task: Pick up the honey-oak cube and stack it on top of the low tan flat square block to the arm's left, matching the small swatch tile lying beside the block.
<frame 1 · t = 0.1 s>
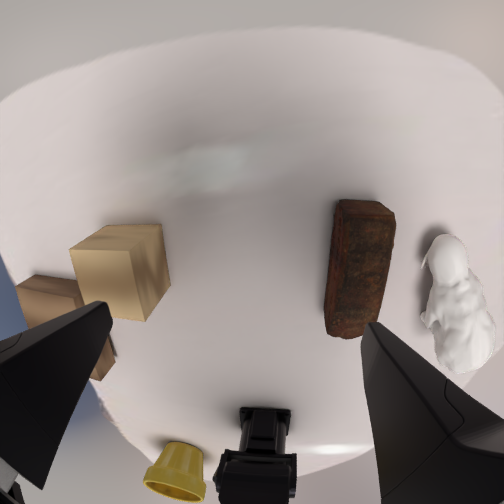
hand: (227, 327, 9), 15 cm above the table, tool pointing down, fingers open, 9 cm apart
brick: (349, 258, 23), on the table
white lumpy chunk: (439, 279, 23), on the table
oak cube: (137, 254, 25), on the table
plant pot: (186, 448, 41), on the table
tan flat square block: (72, 318, 30), on the table, tilted 5°, touching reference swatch
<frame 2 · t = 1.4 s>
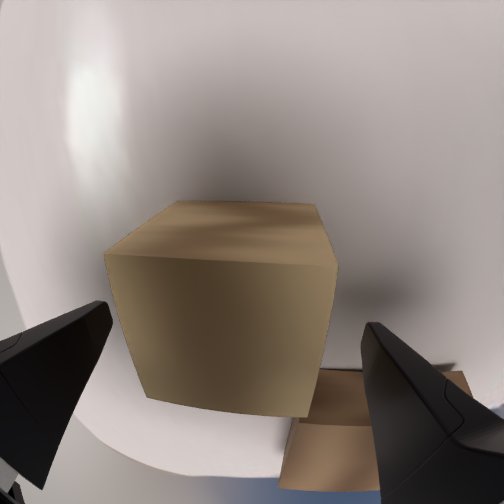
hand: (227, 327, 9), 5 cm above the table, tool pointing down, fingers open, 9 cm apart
oak cube: (244, 264, 13), on the table
tan flat square block: (366, 421, 17), on the table, tilted 5°, touching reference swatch
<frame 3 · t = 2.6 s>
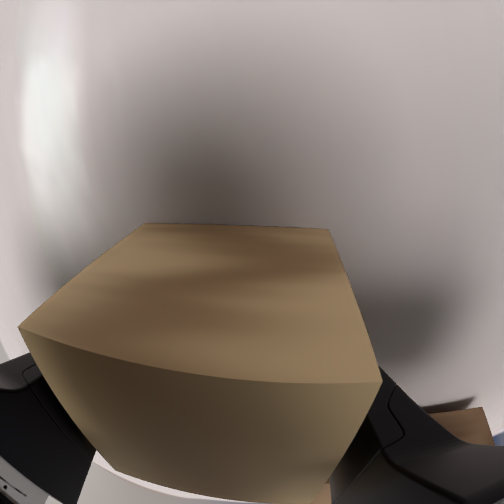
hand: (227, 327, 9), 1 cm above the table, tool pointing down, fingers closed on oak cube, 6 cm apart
oak cube: (233, 306, 10), on the table, touching gripper
tan flat square block: (374, 459, 13), on the table, tilted 5°, touching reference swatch
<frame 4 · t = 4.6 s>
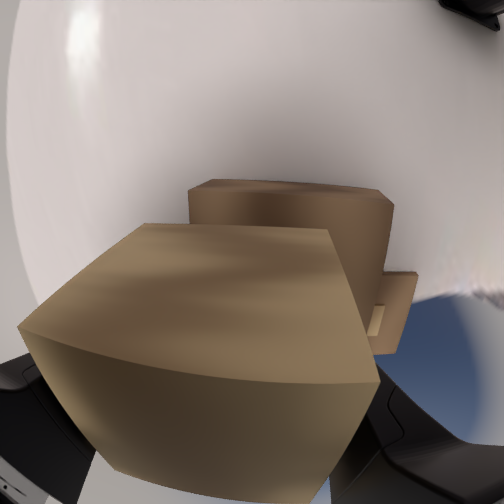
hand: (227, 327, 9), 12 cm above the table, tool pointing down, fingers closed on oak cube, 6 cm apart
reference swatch: (361, 315, 22), on the table
oak cube: (232, 306, 10), point 10 cm above the table, touching gripper
tan flat square block: (290, 260, 20), on the table, tilted 5°, touching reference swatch
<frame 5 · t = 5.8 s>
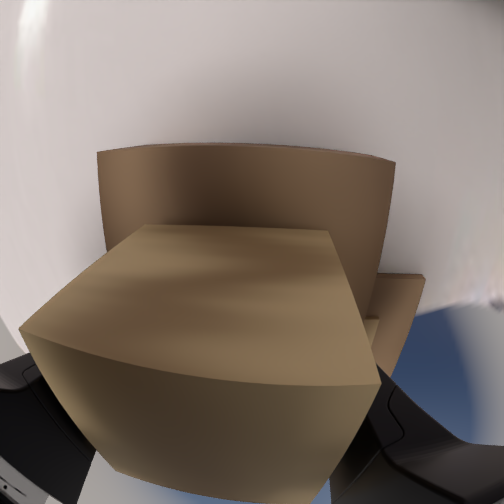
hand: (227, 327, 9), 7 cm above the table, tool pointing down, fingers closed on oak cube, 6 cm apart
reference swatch: (347, 330, 16), on the table
oak cube: (233, 307, 10), point 5 cm above the table, touching gripper
tan flat square block: (247, 254, 15), on the table, tilted 5°, touching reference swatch
when the fingers open (6 cm above the table, at t = 6.7 s): oak cube stays where it is, resting on tan flat square block.
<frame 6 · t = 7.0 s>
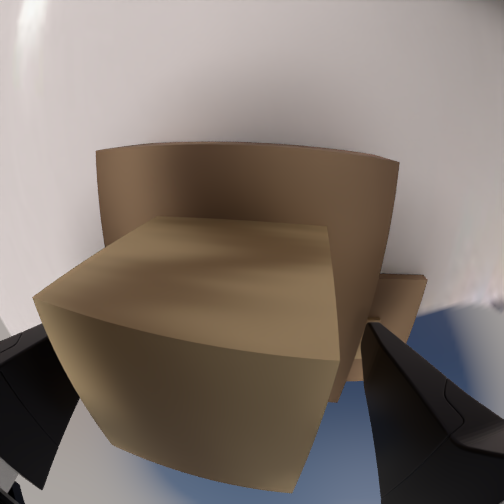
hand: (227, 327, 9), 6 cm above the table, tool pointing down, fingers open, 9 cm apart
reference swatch: (348, 331, 16), on the table
oak cube: (237, 297, 11), point 4 cm above the table, tilted 5°, touching tan flat square block
tan flat square block: (247, 254, 14), on the table, tilted 5°, touching oak cube, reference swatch
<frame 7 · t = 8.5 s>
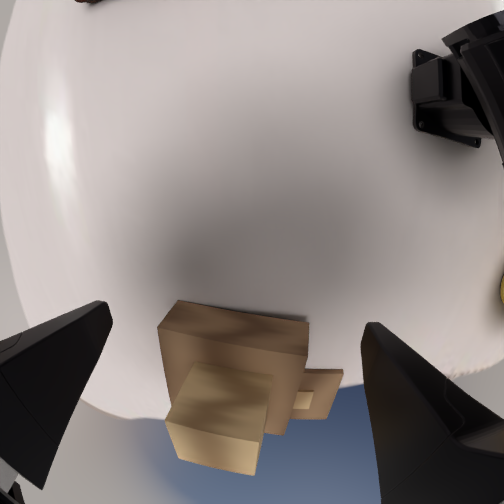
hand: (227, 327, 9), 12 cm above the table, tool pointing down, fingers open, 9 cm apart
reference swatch: (296, 394, 27), on the table
oak cube: (233, 393, 21), point 4 cm above the table, tilted 5°, touching tan flat square block
tan flat square block: (238, 360, 25), on the table, tilted 5°, touching oak cube, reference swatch
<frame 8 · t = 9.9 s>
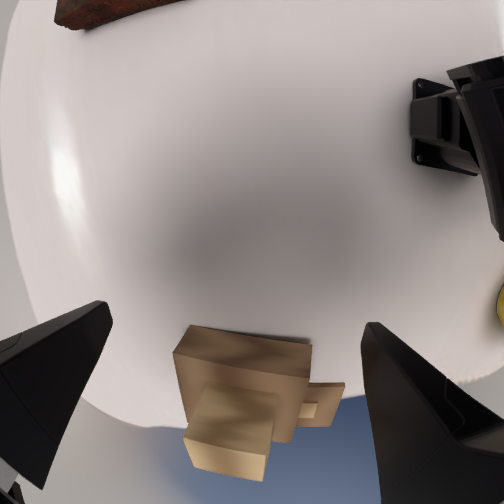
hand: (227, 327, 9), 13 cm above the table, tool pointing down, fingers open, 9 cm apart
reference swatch: (301, 404, 28), on the table
oak cube: (242, 408, 23), point 4 cm above the table, tilted 5°, touching tan flat square block
tan flat square block: (247, 376, 26), on the table, tilted 5°, touching oak cube, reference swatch
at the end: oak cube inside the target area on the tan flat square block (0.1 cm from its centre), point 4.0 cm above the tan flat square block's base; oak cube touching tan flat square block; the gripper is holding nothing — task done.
